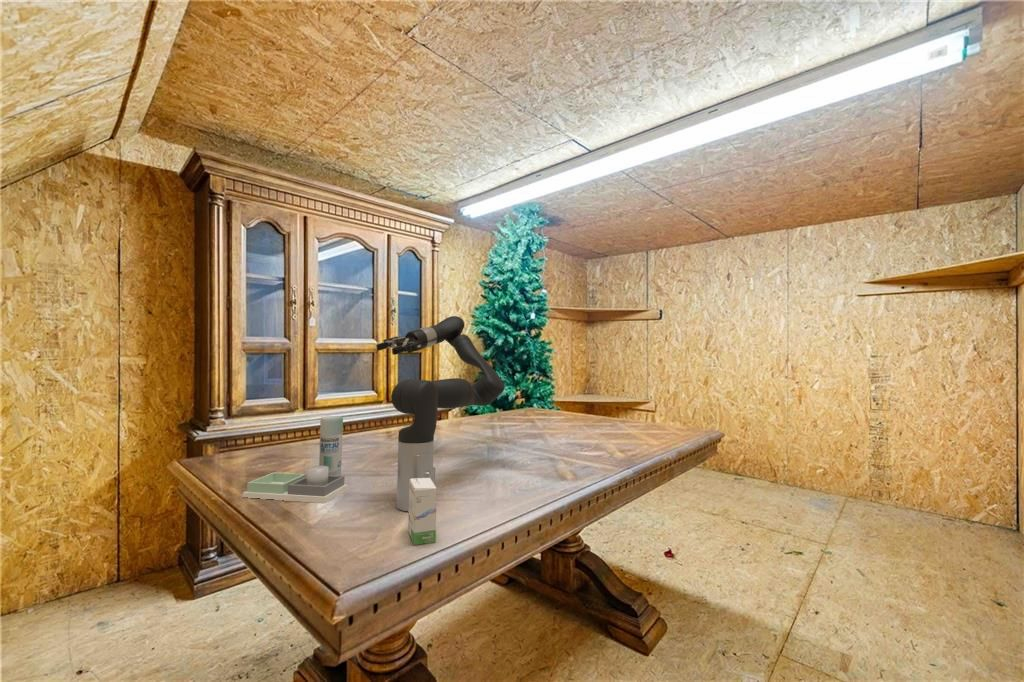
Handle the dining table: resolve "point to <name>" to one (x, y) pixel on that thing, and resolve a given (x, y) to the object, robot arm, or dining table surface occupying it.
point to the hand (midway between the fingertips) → (384, 349)
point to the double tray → (298, 486)
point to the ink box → (422, 510)
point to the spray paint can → (331, 443)
